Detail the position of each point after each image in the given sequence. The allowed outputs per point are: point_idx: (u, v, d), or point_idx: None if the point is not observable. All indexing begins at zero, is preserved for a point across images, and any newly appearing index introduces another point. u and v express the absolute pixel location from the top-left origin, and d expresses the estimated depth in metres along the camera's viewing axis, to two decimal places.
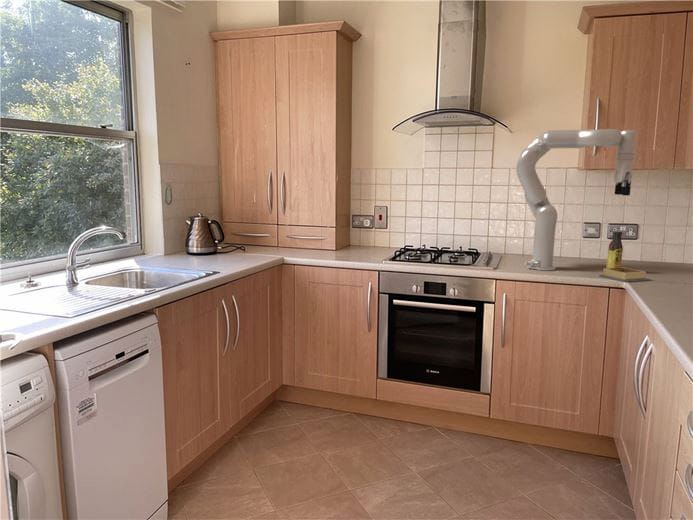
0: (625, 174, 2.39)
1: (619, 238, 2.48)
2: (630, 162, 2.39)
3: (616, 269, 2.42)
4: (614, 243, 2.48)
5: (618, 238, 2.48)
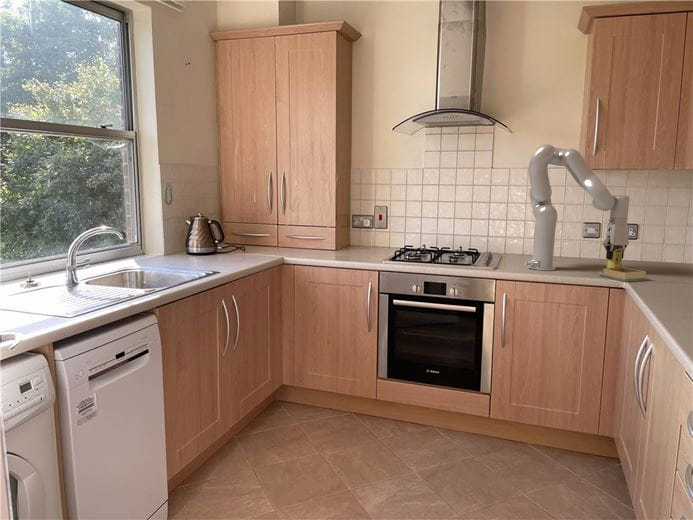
0: None
1: None
2: None
3: (616, 269, 2.42)
4: None
5: None
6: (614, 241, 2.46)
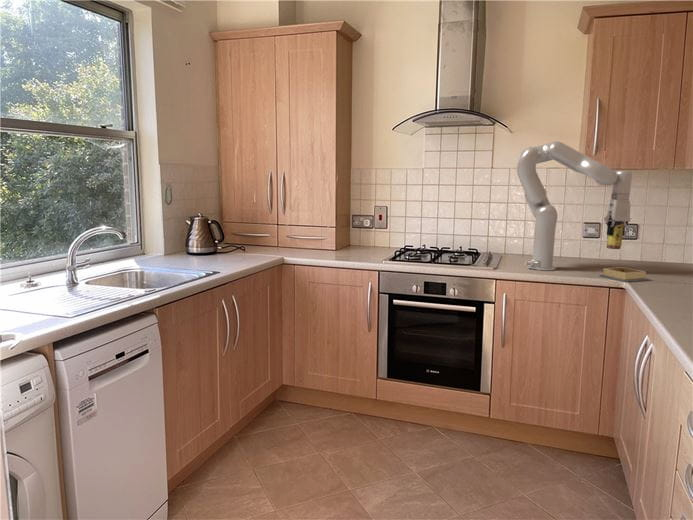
0: None
1: None
2: None
3: (616, 269, 2.42)
4: None
5: None
6: (615, 217, 2.44)
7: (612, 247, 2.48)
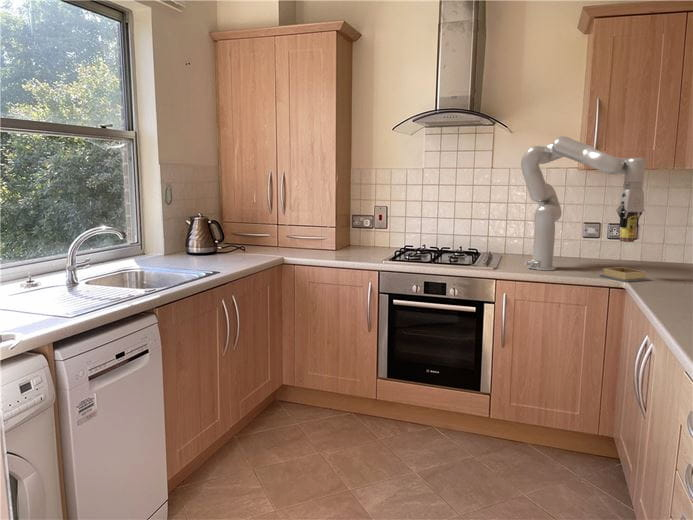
0: None
1: None
2: None
3: (616, 269, 2.42)
4: None
5: None
6: (629, 207, 2.28)
7: (626, 240, 2.32)
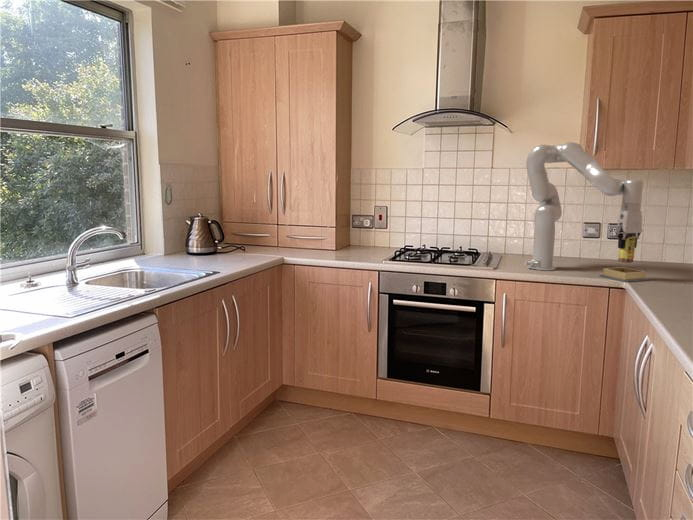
0: None
1: None
2: None
3: (616, 269, 2.42)
4: None
5: None
6: (627, 229, 2.29)
7: (624, 261, 2.33)
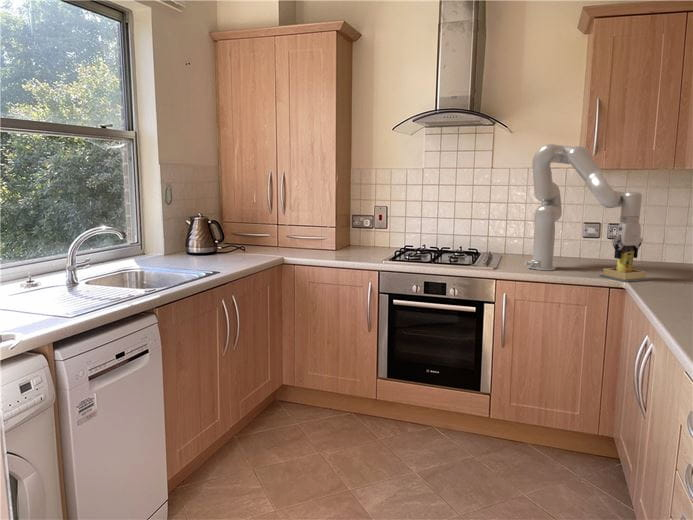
0: None
1: None
2: None
3: None
4: None
5: None
6: (625, 241, 2.30)
7: None
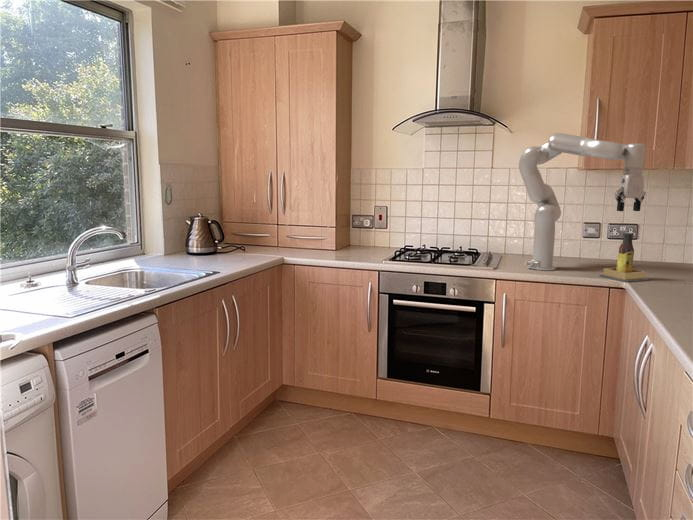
0: None
1: (630, 240, 2.33)
2: None
3: None
4: (625, 246, 2.33)
5: (629, 240, 2.33)
6: (628, 193, 2.29)
7: None
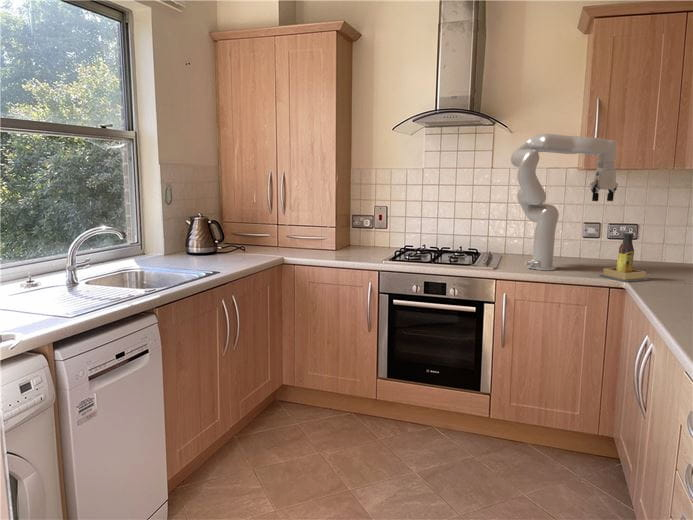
0: None
1: (630, 240, 2.33)
2: None
3: None
4: (625, 246, 2.33)
5: (629, 240, 2.33)
6: (602, 184, 2.54)
7: None
